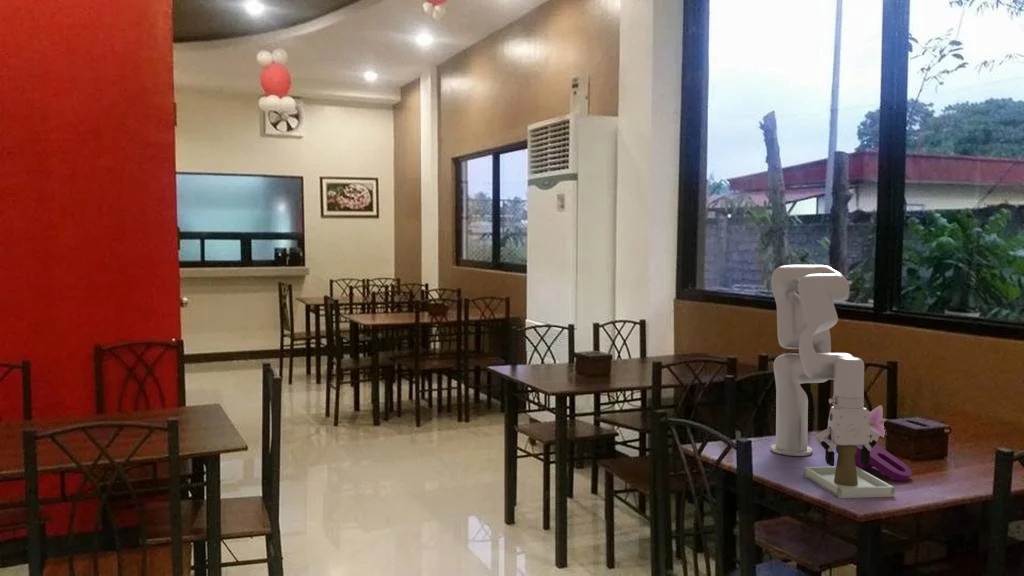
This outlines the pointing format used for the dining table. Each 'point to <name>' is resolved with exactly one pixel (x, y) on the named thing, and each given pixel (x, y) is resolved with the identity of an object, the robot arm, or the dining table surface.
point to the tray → (865, 487)
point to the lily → (877, 420)
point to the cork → (846, 466)
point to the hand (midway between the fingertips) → (847, 464)
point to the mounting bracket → (884, 463)
